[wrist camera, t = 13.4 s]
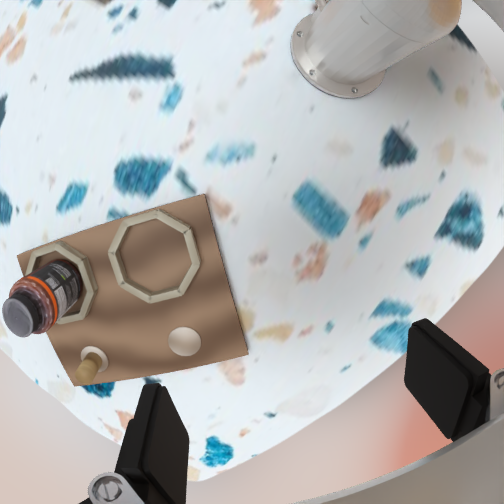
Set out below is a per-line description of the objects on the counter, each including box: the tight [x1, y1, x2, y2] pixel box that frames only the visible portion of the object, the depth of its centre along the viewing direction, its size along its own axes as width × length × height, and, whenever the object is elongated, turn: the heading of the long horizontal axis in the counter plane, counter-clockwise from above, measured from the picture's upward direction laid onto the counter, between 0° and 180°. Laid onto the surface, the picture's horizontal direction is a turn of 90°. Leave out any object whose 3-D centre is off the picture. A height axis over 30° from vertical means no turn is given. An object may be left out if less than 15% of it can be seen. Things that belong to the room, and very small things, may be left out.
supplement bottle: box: [2, 259, 82, 337], centre depth 27 cm, size 6×6×11 cm
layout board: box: [17, 194, 249, 386], centre depth 32 cm, size 20×26×6 cm
